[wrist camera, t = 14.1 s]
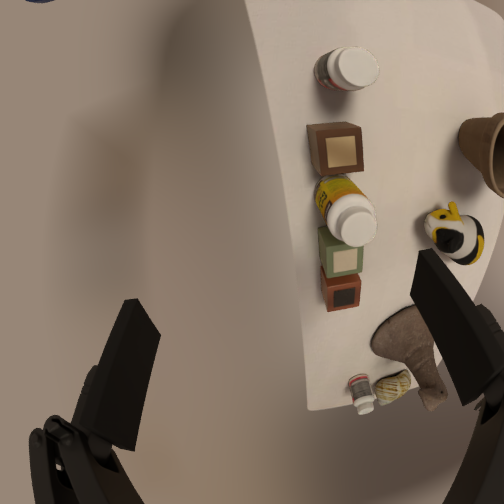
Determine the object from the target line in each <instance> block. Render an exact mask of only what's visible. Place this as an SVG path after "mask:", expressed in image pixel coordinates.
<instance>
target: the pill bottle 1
mask: <svg viewBox="0 0 504 504" xmlns="http://www.w3.org/2000/svg"><path fill="white" fill-rule="evenodd" d="M314 73H315V76H316V78H317V80H318V82H319V83H320V84H321V85H323V86H324V87H326V88H328V89H331V90H345V91H355V90H360V89H362V88H364V87H366V86H369V85H371V84H373V83H374V82H375V81H376V79H377V78H378V75H379V65H378V62H377V60H376V58H375V57H374V56H373V55H372V54H371V53H370V52H369V51H367V50H366V49H363V48H360V47H341V48H338V49H336V50H333V51H331V52H329V53H327V54H325V55H323V56H321V57H320V58H319V59H318V60H317V62H316V64H315V67H314Z"/></svg>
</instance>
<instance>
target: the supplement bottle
mask: <svg viewBox="0 0 504 504" xmlns="http://www.w3.org/2000/svg"><path fill="white" fill-rule="evenodd" d="M314 198H315V202H316V204H317V206H318V208H319V210H320V212H321V214H322V216H323V218H324V220H325V222H326V224H327V226H328V228H329V230H330V232H331V233H332V235H333V236H334V237H336V238H337V239H339V240H341V241H344V242H345V243H346V244H347V245H349V246H352V247H361V246H364V245H366V244H367V243H369V242H370V241H371V240H372V239H373V238H374V236H375V234H376V232H377V222H376V212H375V208H374V206H373V204H372V203H371V201H370V200H369V199H368V198H367V197H366V196H365V195H364V194H363V193H362V191H361V190H360V189H359V188H358V187H357V186H356V185H355V184H354V183H353V182H352V181H351V180H350V179H349V178H348V177H346V176H345V175H342V174H334V175H326V176H325V177H323V178H322V179H321V180H320V181H319V182H318V183H317V185H316V187H315V191H314Z"/></svg>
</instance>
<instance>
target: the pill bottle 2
mask: <svg viewBox="0 0 504 504" xmlns="http://www.w3.org/2000/svg"><path fill="white" fill-rule="evenodd" d="M349 387H350V391H351V395H352V400H353V404H354V406H355V407H358V409H357V411H358V414H366V413H369V412H371V411H372V410H373V409H374V407H373V403H372V402H373V401H374V395H373V391H372V388H371V384H370V380H369V377H368V375H365V374H361V375H357V376H355V377H353V378H351V379H350V380H349Z"/></svg>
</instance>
